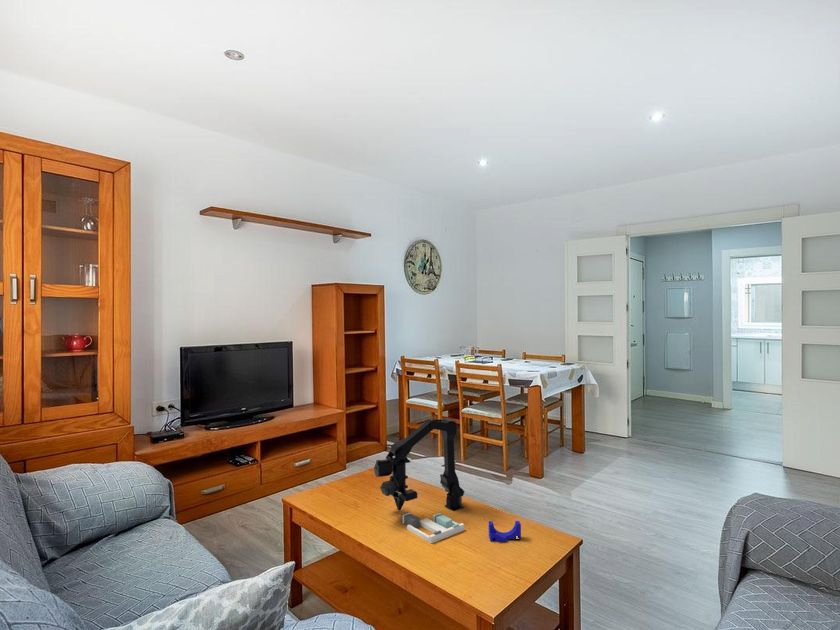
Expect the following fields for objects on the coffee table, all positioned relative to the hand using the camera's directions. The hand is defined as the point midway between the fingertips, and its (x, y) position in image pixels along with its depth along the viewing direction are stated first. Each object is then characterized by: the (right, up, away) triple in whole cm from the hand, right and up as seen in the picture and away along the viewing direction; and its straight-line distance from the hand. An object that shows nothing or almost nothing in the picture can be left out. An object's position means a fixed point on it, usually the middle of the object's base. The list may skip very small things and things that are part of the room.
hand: (399, 510), depth 201 cm
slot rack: (+15, -3, -11) cm, 18 cm away
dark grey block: (+5, -3, -6) cm, 9 cm away
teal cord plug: (+18, -3, -8) cm, 20 cm away
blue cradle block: (+42, -4, -19) cm, 46 cm away
